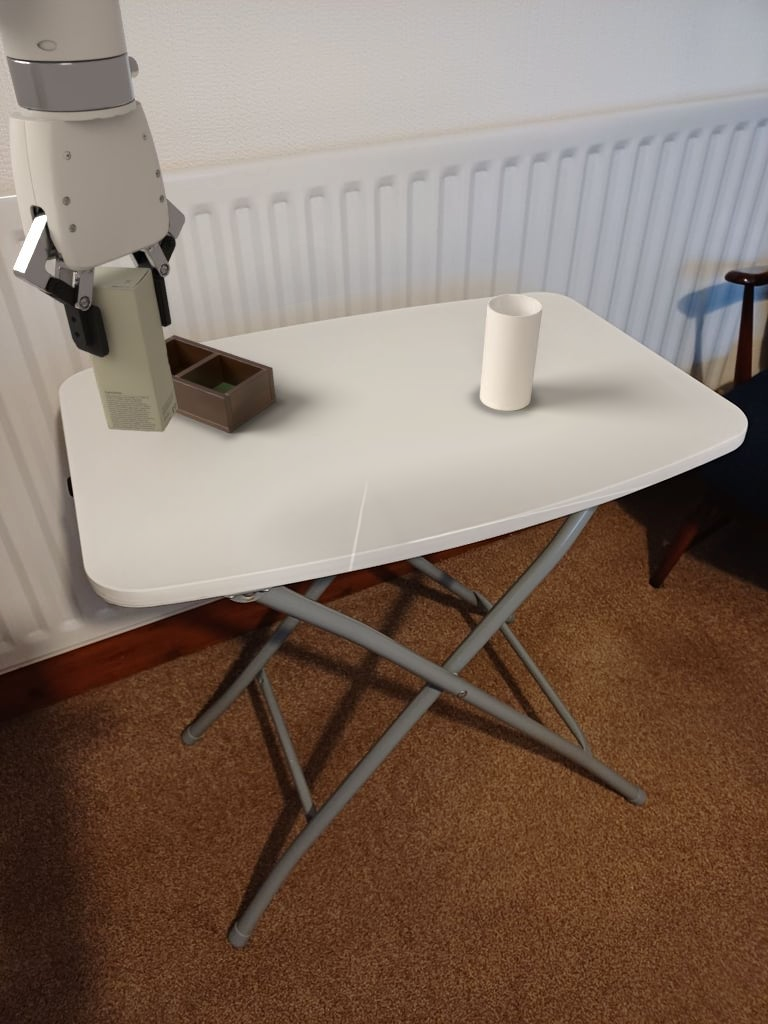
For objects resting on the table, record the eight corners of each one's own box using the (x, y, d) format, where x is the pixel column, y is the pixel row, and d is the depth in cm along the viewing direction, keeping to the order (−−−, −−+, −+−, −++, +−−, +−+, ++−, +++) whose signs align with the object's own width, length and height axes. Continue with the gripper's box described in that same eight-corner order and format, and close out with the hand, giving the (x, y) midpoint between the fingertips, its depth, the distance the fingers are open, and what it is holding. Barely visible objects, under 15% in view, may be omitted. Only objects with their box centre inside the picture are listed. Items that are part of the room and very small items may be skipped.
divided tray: (229, 433, 90) (224, 398, 87) (131, 394, 96) (123, 361, 94) (276, 401, 95) (272, 367, 92) (180, 367, 102) (174, 334, 99)
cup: (493, 414, 93) (502, 320, 85) (471, 390, 97) (478, 298, 90) (539, 405, 94) (552, 311, 87) (516, 381, 99) (526, 290, 91)
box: (179, 409, 70) (156, 266, 62) (163, 435, 66) (137, 287, 58) (121, 405, 70) (91, 262, 62) (103, 431, 66) (68, 283, 59)
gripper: (132, 63, 59) (169, 291, 71) (-81, 99, 48) (3, 365, 59) (206, 73, 56) (232, 311, 67) (-4, 115, 45) (70, 393, 56)
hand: (125, 334), depth 63 cm, fingers closed on box, 5 cm apart
